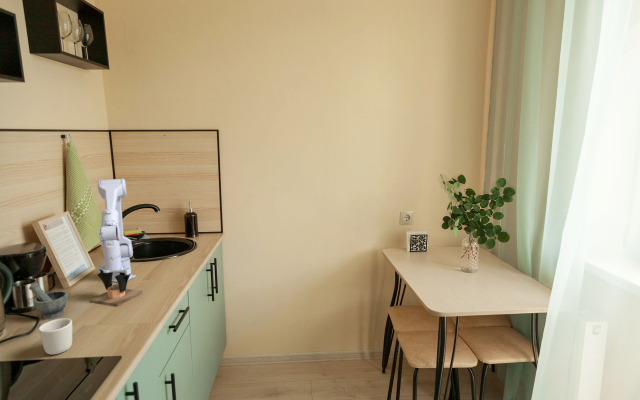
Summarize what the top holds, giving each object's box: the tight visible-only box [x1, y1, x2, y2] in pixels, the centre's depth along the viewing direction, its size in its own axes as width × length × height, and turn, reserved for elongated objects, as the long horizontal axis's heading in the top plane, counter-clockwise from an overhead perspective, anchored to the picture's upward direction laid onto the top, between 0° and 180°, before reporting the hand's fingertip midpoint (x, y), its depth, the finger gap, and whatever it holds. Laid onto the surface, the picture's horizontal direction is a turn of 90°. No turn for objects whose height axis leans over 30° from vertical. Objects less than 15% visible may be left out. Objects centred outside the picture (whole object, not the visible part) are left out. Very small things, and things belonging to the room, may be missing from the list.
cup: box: [38, 317, 73, 355], centre depth 110 cm, size 11×8×8 cm
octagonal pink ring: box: [106, 285, 125, 298], centre depth 144 cm, size 6×6×3 cm
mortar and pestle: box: [28, 282, 69, 320], centre depth 130 cm, size 11×9×12 cm
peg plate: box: [89, 283, 143, 307], centre depth 144 cm, size 13×12×5 cm
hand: (116, 290), depth 144 cm, fingers open, 6 cm apart
